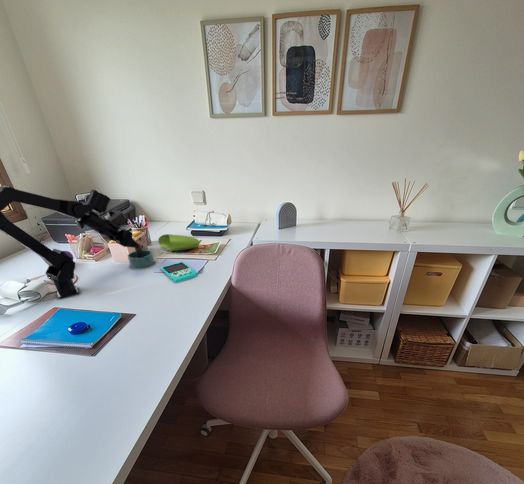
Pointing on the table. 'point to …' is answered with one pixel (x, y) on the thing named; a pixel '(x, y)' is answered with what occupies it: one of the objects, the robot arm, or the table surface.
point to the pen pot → (141, 259)
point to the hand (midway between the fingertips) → (133, 244)
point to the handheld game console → (179, 271)
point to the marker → (139, 251)
